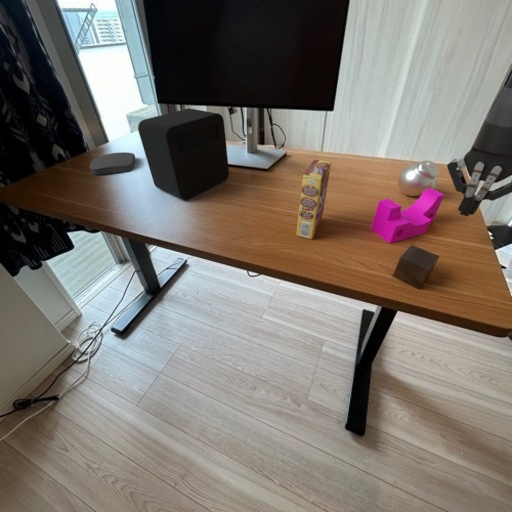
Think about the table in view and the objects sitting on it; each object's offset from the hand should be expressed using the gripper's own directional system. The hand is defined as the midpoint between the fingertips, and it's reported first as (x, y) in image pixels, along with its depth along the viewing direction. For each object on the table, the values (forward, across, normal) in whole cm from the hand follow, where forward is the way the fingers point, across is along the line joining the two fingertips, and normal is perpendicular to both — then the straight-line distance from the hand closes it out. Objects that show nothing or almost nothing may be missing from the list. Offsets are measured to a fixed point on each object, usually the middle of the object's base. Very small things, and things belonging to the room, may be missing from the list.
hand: (465, 213), depth 54 cm
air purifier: (+7, -69, -21) cm, 72 cm away
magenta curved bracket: (+8, -9, 0) cm, 12 cm away
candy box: (+8, -26, -16) cm, 31 cm away
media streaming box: (+7, -104, -32) cm, 109 cm away
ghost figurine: (+8, -15, +18) cm, 24 cm away
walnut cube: (+8, -2, -15) cm, 17 cm away
